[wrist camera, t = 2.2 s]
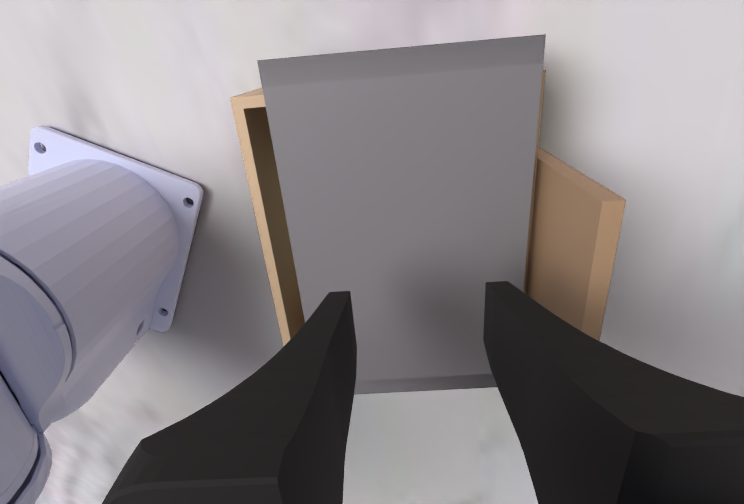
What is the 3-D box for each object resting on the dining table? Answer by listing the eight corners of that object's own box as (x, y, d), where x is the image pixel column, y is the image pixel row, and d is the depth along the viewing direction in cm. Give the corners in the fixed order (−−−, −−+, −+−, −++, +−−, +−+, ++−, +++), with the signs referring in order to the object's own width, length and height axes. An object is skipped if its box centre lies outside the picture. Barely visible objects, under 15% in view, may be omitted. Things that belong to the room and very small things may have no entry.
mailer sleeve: (330, 324, 24) (318, 396, 19) (290, 58, 18) (257, 60, 13) (486, 315, 24) (514, 386, 19) (498, 38, 18) (545, 34, 13)
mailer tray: (301, 312, 24) (260, 454, 15) (260, 87, 19) (164, 118, 10) (507, 300, 23) (580, 440, 15) (524, 65, 18) (649, 76, 10)
